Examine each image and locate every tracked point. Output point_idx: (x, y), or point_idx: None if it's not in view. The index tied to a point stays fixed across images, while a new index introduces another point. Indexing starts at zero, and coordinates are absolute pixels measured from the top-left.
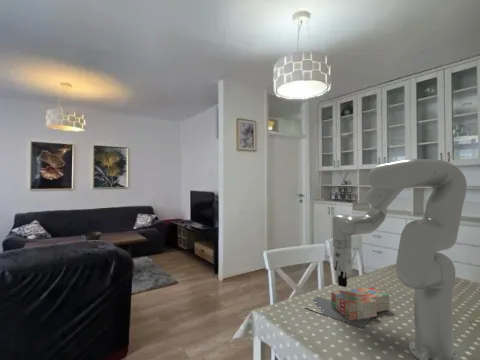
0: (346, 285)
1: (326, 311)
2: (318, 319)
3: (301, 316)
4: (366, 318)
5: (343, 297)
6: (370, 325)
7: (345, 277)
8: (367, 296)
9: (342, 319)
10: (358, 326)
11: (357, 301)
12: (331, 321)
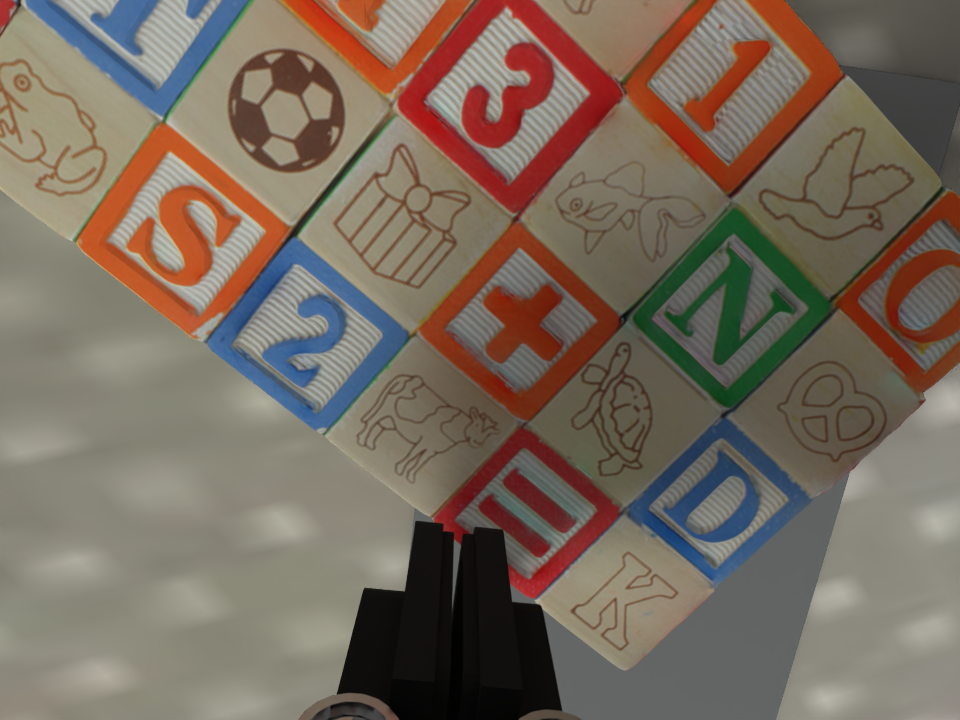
0: (445, 531)
1: None
2: (940, 563)
3: (945, 712)
4: None
5: (769, 452)
6: (835, 8)
7: (441, 700)
8: (459, 48)
9: None
10: (943, 141)
11: (836, 191)
12: (929, 440)
